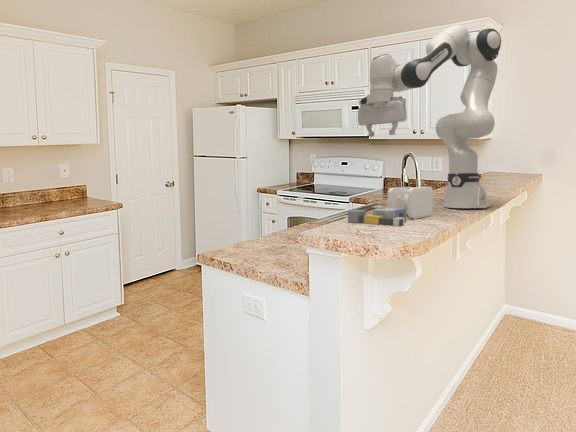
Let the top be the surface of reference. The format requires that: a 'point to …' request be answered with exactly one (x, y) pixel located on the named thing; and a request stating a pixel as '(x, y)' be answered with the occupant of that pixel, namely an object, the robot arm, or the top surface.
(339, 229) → the top surface
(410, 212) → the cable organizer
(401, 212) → the medicine box
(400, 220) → the yellow and black bar
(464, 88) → the robot arm
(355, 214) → the grey block
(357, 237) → the top surface
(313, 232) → the top surface
